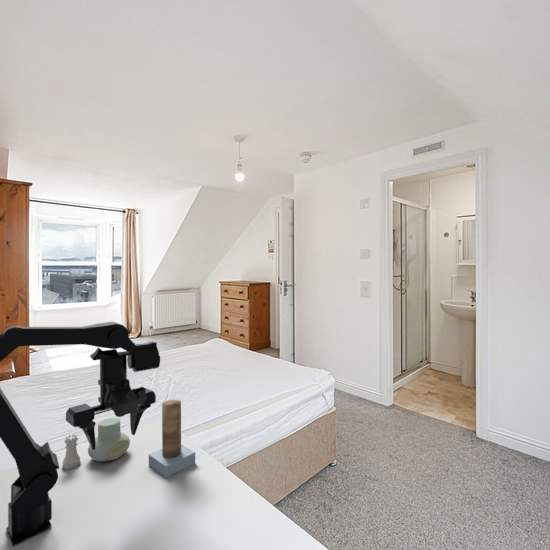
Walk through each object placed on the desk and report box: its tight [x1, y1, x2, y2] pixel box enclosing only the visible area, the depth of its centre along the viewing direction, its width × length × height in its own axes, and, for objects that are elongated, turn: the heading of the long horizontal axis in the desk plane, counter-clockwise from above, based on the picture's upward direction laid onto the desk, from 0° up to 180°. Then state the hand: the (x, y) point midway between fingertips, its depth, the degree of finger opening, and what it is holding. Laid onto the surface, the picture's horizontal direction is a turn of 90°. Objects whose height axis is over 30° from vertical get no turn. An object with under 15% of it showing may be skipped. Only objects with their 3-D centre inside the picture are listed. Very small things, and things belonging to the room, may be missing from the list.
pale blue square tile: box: [148, 444, 196, 479], centre depth 92 cm, size 9×9×3 cm
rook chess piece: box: [61, 434, 82, 471], centre depth 92 cm, size 4×4×8 cm
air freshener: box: [87, 417, 131, 462], centre depth 97 cm, size 11×8×10 cm
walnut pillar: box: [161, 399, 182, 458], centre depth 92 cm, size 5×5×14 cm
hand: (114, 441), depth 79 cm, fingers open, 9 cm apart
